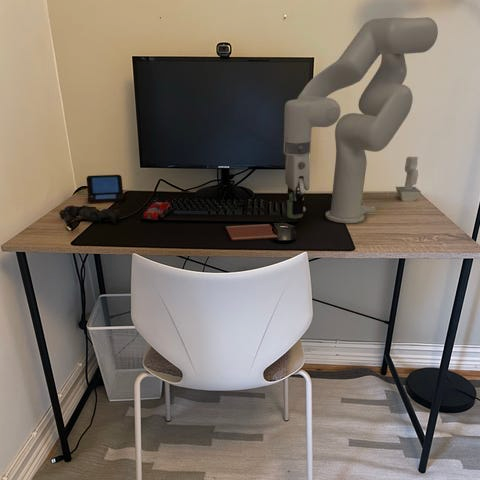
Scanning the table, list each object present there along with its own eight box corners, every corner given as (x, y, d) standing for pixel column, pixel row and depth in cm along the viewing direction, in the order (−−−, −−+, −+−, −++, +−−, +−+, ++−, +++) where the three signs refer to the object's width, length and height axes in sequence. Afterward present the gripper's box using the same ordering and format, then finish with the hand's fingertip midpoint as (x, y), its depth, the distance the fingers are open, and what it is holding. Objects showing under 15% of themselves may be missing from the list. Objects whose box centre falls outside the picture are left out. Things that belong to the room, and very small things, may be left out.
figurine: (400, 202, 175) (407, 159, 168) (393, 195, 183) (399, 154, 176) (420, 202, 175) (428, 159, 168) (412, 195, 183) (419, 154, 176)
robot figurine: (129, 215, 161) (73, 210, 165) (128, 202, 159) (72, 197, 162) (105, 233, 146) (45, 226, 149) (104, 219, 144) (42, 212, 147)
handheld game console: (87, 203, 171) (84, 182, 168) (89, 196, 181) (86, 175, 177) (124, 201, 174) (121, 180, 170) (123, 194, 183) (121, 174, 180)
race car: (156, 223, 153) (155, 210, 151) (141, 221, 155) (139, 208, 153) (174, 211, 164) (173, 199, 162) (160, 209, 166) (159, 198, 164)
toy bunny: (303, 212, 149) (304, 184, 144) (307, 217, 145) (309, 188, 140) (284, 214, 148) (285, 185, 144) (289, 219, 144) (290, 189, 140)
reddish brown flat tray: (269, 224, 152) (269, 223, 152) (279, 237, 142) (279, 236, 142) (225, 227, 150) (225, 226, 150) (231, 240, 140) (231, 239, 140)
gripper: (319, 153, 130) (315, 219, 139) (301, 141, 144) (298, 202, 153) (292, 154, 129) (290, 221, 138) (276, 143, 143) (275, 203, 152)
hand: (294, 210), depth 145 cm, fingers closed on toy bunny, 4 cm apart
